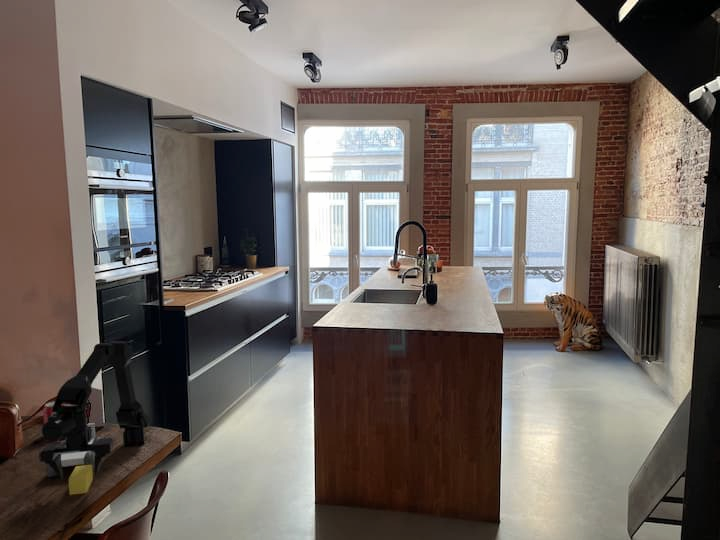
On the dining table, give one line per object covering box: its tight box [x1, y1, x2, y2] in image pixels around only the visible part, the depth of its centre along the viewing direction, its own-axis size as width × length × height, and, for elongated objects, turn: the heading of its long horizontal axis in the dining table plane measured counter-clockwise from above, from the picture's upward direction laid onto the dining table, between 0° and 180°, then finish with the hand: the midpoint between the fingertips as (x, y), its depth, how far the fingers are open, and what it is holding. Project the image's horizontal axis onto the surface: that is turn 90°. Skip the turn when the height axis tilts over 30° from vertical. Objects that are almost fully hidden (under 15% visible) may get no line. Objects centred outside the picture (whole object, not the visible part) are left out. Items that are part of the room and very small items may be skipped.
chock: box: [68, 464, 94, 496], centre depth 154 cm, size 4×8×5 cm, turn 15°
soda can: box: [42, 400, 65, 425], centre depth 191 cm, size 7×7×12 cm
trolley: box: [46, 423, 104, 478], centre depth 167 cm, size 18×12×10 cm
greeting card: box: [70, 387, 105, 427], centre depth 197 cm, size 11×7×15 cm, turn 61°
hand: (79, 476), depth 152 cm, fingers open, 9 cm apart
